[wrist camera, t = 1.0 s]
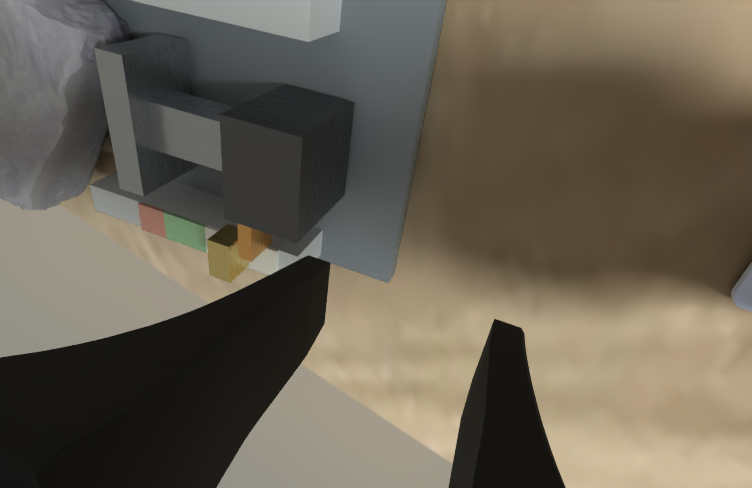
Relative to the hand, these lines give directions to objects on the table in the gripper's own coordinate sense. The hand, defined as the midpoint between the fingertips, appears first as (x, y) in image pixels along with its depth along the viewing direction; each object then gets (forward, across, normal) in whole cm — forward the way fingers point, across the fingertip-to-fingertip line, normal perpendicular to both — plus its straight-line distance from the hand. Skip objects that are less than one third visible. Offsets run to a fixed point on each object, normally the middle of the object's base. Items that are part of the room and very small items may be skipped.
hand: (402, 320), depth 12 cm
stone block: (+9, +22, 0) cm, 23 cm away
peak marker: (+6, +9, +4) cm, 11 cm away
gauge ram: (+8, +9, +1) cm, 12 cm away
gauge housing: (+9, +10, 0) cm, 14 cm away
